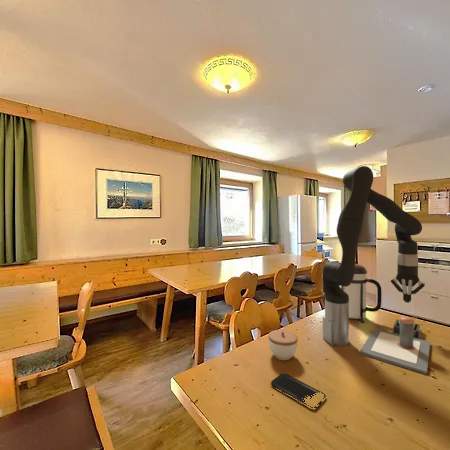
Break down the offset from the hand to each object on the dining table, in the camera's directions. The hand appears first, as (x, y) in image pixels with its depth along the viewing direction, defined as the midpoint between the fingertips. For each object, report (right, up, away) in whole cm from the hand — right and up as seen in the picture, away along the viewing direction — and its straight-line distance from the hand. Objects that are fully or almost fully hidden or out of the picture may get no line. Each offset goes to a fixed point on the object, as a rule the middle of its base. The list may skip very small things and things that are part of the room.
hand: (407, 301), depth 114 cm
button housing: (0, -14, 0) cm, 14 cm away
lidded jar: (-60, -15, -18) cm, 64 cm away
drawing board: (-14, -14, -14) cm, 24 cm away
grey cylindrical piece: (-10, -13, -14) cm, 22 cm away
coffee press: (-15, -14, +17) cm, 26 cm away
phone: (-60, -16, -37) cm, 73 cm away
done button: (0, -11, 0) cm, 11 cm away
